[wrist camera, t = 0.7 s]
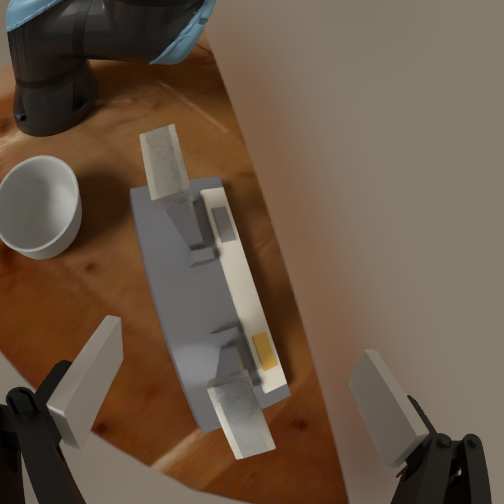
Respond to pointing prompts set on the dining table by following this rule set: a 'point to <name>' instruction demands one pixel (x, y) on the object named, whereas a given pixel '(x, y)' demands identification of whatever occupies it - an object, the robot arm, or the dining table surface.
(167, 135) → the lever inner
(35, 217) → the teacup
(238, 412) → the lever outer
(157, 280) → the grey stand base
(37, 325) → the dining table surface
